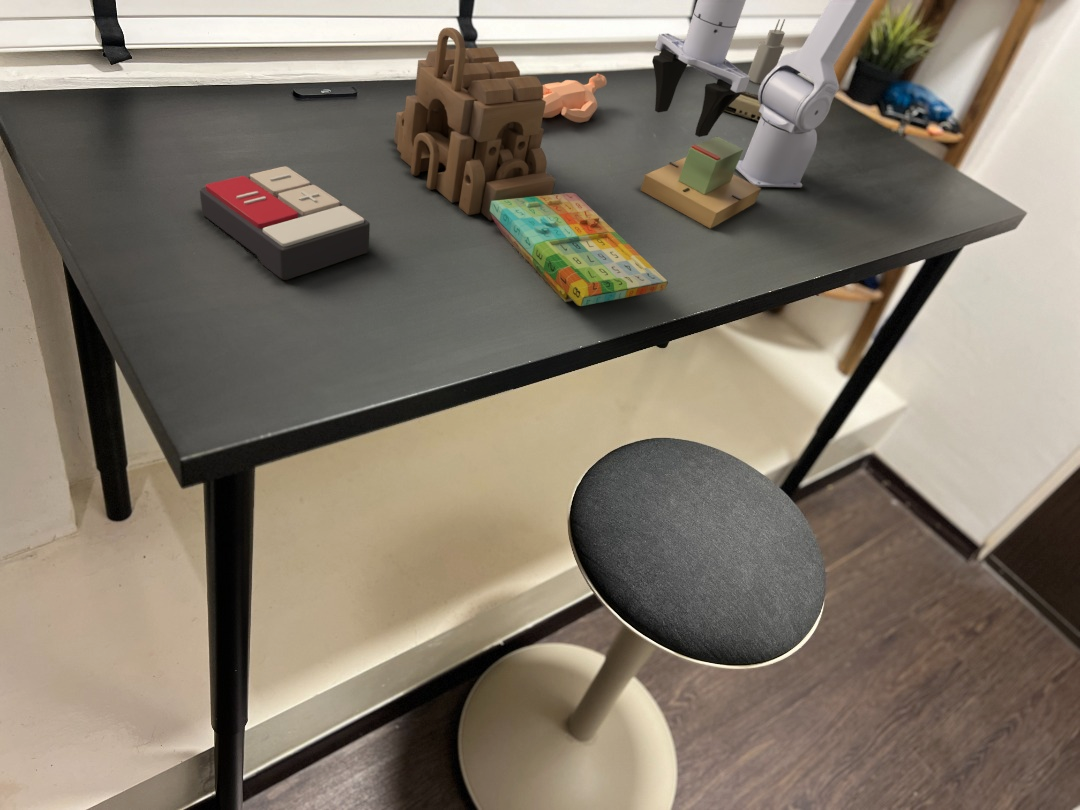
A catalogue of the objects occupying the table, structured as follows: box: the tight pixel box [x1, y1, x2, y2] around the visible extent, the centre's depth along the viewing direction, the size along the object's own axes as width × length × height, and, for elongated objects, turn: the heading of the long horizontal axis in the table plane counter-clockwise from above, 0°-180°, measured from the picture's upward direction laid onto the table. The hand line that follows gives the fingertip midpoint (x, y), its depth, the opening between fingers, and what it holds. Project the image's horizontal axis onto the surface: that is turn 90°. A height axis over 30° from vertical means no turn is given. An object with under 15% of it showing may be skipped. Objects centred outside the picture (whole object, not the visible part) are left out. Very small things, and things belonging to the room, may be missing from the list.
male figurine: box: [542, 73, 607, 123], centre depth 124 cm, size 11×5×25 cm
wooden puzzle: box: [393, 27, 556, 221], centre depth 98 cm, size 22×15×19 cm, turn 39°
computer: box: [724, 91, 762, 122], centre depth 145 cm, size 16×8×3 cm, turn 73°
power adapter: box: [747, 18, 786, 84], centre depth 158 cm, size 3×5×12 cm, turn 131°
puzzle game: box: [489, 192, 669, 307], centre depth 90 cm, size 12×5×20 cm
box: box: [678, 136, 744, 194], centre depth 110 cm, size 8×4×5 cm, turn 141°
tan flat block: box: [640, 156, 762, 230], centre depth 113 cm, size 14×12×3 cm
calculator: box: [199, 165, 371, 281], centre depth 84 cm, size 11×4×15 cm
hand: (680, 122), depth 108 cm, fingers open, 7 cm apart
